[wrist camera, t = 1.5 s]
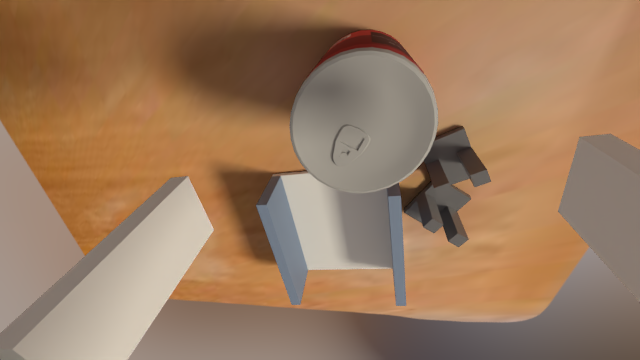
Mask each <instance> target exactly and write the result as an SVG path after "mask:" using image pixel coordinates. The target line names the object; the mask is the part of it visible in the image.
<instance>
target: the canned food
mask: <svg viewBox="0 0 640 360" xmlns="http://www.w3.org/2000/svg"><path fill="white" fill-rule="evenodd" d="M437 126H438V108H437V104H436V99H435V95H434V91H433V89H432V87H431V85H430V83H429V81H428V79H427V77H426V76H425V74H424V73H423V71H422V70H421V69H420V67H419V66H418V65H417V64H416V62H415V61H414V60H413V59H412V57H411V56H410V55H409V54H408V52H407V51H406V50H405V49H404V48H403V46H402V45H401V44H400V43H399V42H398V41H397V40H396V39H394V38H393V37H392V36H390V35H388V34H386V33H383V32H381V31H375V30H360V31H357V32H353V33H350V34H348V35H346V36H345V37H343V38H341V39H340V40H338V41H337V42H336V43H335V44H334V45H333V46H332V47H331V48H330V49H329V50H328V52H327V53H326V54H325V55H324V56H323V58H322V59H321V60H320V61H319V63H318V64H317V65H316V66H315V68H314V69H313V70H312V71H311V72H310V74H309V75H308V76H307V78H306V79H305V81H304V82H303V84H302V86H301V88H300V89H299V91H298V93H297V95H296V98H295V101H294V104H293V108H292V111H291V118H290V135H291V141H292V145H293V148H294V151H295V153H296V155H297V157H298V159H299V161H300V163H301V164H302V165H303V166H304V168H305V169H306V170H307V171H308V173H310V174H311V175H312V176H313V177H314V178H315V179H317V180H318V181H320V182H321V183H323V184H325V185H326V186H328V187H331V188H334V189H336V190H339V191H344V192H350V193H368V192H375V191H379V190H382V189H386V188H389V187H391V186H393V185H395V184H397V183H399V182H401V181H402V180H404V179H405V178H406V177H408V176H409V175H410V174H412V173H413V172H414V171H415V170H416V169H417V168H418V167H419V166H420V164H421V163H422V162H423V161H424V159H425V158H426V156H427V155H428V153H429V151H430V149H431V147H432V144H433V142H434V140H435V137H436V131H437Z"/></svg>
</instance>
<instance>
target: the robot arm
mask: <svg viewBox="0 0 640 360" xmlns="http://www.w3.org/2000/svg"><path fill="white" fill-rule="evenodd" d="M558 212H559V213H560V214H561V215H562V216H563V217H564V219H565V220H566V221H567V222H568V223H569V224H570V225H571V226H572V227H573V229H574V230H575V231H576V232H577V233H578V234H579V235H580V236H581V238H582V239H583V240H584V241H585V242H586V243H587V244H588V245H589V246H590V248H591V249H592V250H593V251H594V252H595V253H596V254H597V255H598V256H599V258H600V259H601V260H602V261H603V262H604V263H605V264H606V265H607V266H608V268H609V269H610V270H611V271H612V272H613V273H614V274H615V275H616V276H617V278H618V279H619V280H620V281H621V282H622V283H623V284H624V285H625V287H626V288H627V289H628V290H629V291H630V292H631V293H632V294H633V296H634V297H635V298H636V299H637V300H638V301H639V302H640V150H639V149H637V148H635V147H633V146H632V145H630V144H628V143H626V142H624V141H623V140H621V139H619V138H617V137H615V136H614V135H612V134H604V135H594V136H584V137H579V141H578V144H577V148H576V151H575V155H574V158H573V162H572V165H571V168H570V172H569V175H568V179H567V182H566V186H565V189H564V193H563V196H562V200H561V203H560V206H559V210H558ZM213 230H214V229H213V227H212V225H211V223H210V221H209V219H208V217H207V214H206V212H205V210H204V208H203V206H202V204H201V202H200V200H199V198H198V196H197V194H196V192H195V190H194V188H193V186H192V184H191V181H190V179H189V177H188V176H185V177H175V178H170V179H169V180H168V181H167V182H166V183H165V184H164V185H163V186H162V187H161V188H159V189H158V190H157V191H156V192H155V193H154V194H153V195H152V196H151V197H150V198H148V199H147V200H146V201H145V202H144V203H143V204H142V205H141V206H140V207H139V208H137V209H136V210H135V211H134V212H133V213H132V214H131V215H130V216H129V217H128V218H126V219H125V220H124V221H123V222H122V223H121V224H120V225H119V226H118V227H117V228H115V229H114V230H113V231H112V232H111V233H110V234H109V235H108V236H107V237H106V238H104V239H103V240H102V241H101V242H100V243H99V244H98V245H97V246H96V247H95V248H93V249H92V250H91V251H90V252H89V253H88V254H87V255H86V256H85V257H84V258H82V260H81V261H79V262H78V263H77V264H76V265H75V266H74V267H73V268H72V269H70V270H69V271H68V272H67V273H66V274H65V275H64V276H63V277H62V278H60V279H59V280H58V281H57V282H56V283H55V284H54V285H53V286H52V287H51V288H50V289H49V290H47V291H46V292H45V293H44V294H43V295H42V296H41V297H40V298H39V299H37V300H36V301H35V302H34V303H33V304H32V305H31V306H30V307H29V308H28V309H26V310H25V311H24V312H23V313H22V314H21V315H20V316H19V317H18V318H17V319H15V320H14V321H13V322H12V323H11V324H10V325H9V326H8V327H7V328H6V329H5V330H3V331H2V332H1V333H0V360H128V358H129V357H130V355H131V354H132V352H133V351H134V349H135V348H136V346H137V345H138V343H139V341H140V340H141V339H142V337H143V336H144V334H145V333H146V331H147V329H148V328H149V326H150V325H151V324H152V322H153V320H154V319H155V318H156V316H157V314H158V313H159V312H160V310H161V309H162V307H163V305H164V304H165V302H166V301H167V300H168V298H169V297H170V295H171V294H172V292H173V291H174V289H175V288H176V286H177V285H178V283H179V281H180V280H181V278H182V277H183V275H184V274H185V272H186V271H187V269H188V268H189V266H190V265H191V263H192V262H193V260H194V259H195V257H196V256H197V254H198V253H199V251H200V250H201V248H202V247H203V245H204V244H205V242H206V241H207V239H208V238H209V236H210V235H211V233H212V232H213Z"/></svg>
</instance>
